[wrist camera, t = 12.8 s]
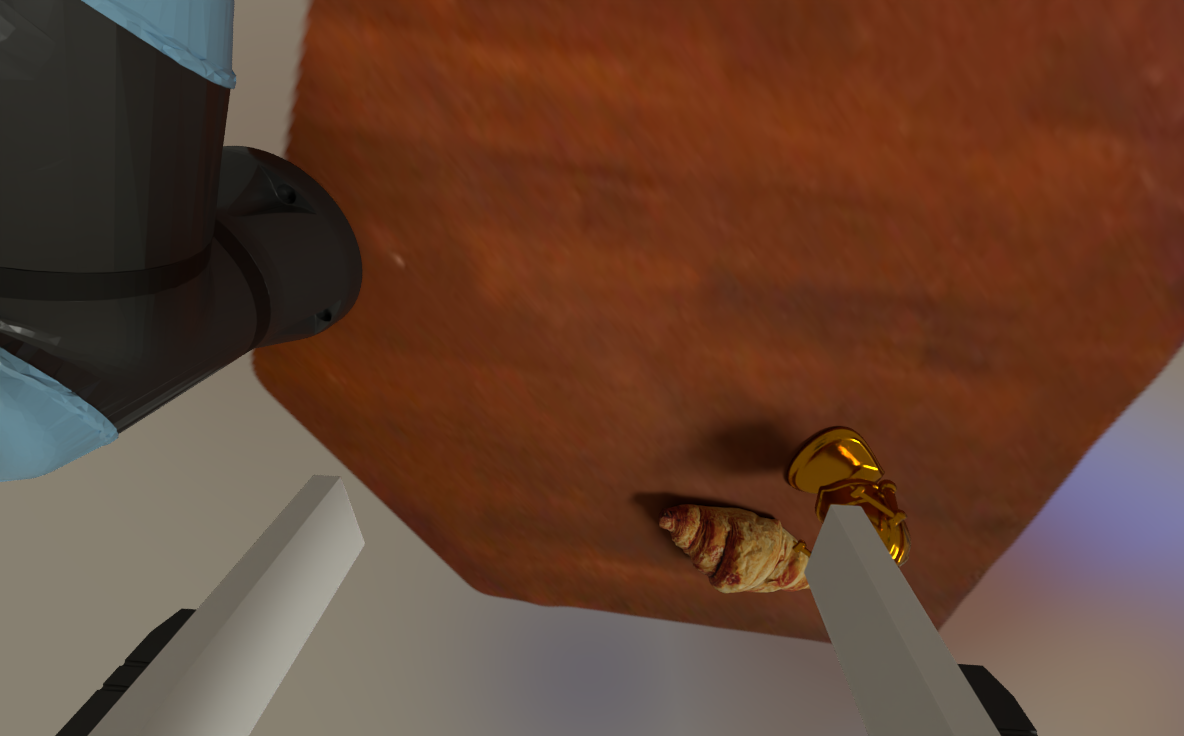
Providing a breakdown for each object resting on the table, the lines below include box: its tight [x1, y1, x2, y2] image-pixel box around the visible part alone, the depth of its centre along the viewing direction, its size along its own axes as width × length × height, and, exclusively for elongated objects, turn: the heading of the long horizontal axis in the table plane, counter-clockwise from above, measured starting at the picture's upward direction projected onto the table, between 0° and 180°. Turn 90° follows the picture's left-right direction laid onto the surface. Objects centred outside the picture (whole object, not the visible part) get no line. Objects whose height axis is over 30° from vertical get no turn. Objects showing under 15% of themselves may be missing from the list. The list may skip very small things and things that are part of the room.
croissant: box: [658, 504, 810, 593], centre depth 48 cm, size 21×10×8 cm, turn 63°
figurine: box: [787, 427, 911, 568], centre depth 39 cm, size 8×11×12 cm
